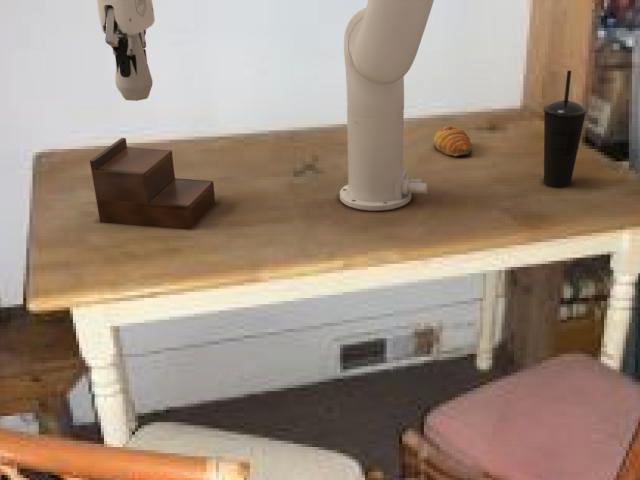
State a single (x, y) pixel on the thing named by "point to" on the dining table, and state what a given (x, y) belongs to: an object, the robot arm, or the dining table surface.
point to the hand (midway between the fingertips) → (133, 76)
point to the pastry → (452, 141)
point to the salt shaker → (135, 84)
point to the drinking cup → (562, 138)
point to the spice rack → (147, 189)
